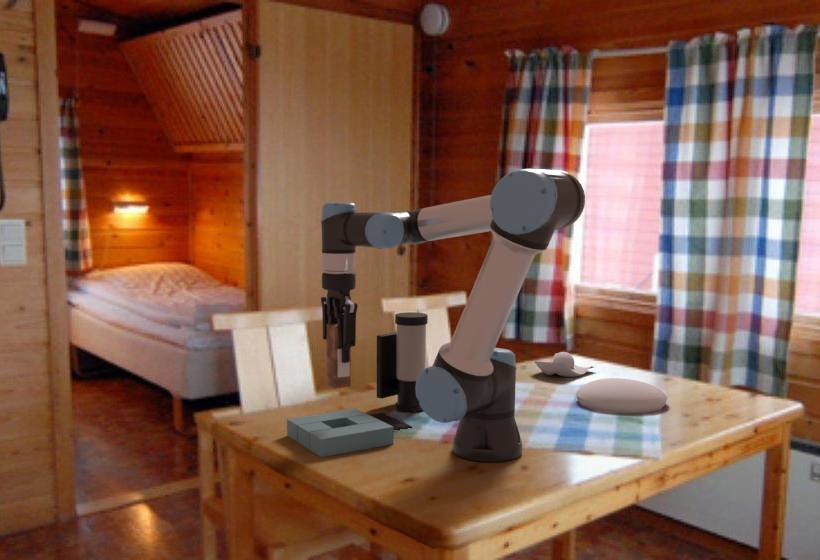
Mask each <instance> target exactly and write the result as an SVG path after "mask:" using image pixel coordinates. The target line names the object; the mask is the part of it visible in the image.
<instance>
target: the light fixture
mask: <svg viewBox="0 0 820 560" xmlns="http://www.w3.org/2000/svg"><path fill="white" fill-rule="evenodd" d="M428 321H429V318H428V313H423V312H412V311H411V312H400V313H399V312H398V313H395V314H394V324H396V332H389V333H384V334H378V335H376V398H377V399H380V400H381V399H384V398H385V399H386V398H390V397H393V396H397V402H395V404H394V408H395V410H396V411H397V412H400V413H401V412H402V413H407V412H409V413H410V414H411V413H412V412H415V413H420V412H421V411H422V412H424V411H423V410H422V408H421V406H420V404H419V400H418V399H417V397H416V389H415V387H416V381H417V378H418V376H419V374H420V373H421V372H422V371H423V370H425V369H426V368H427V367H426V366H427V364H426V363H427V361H426V359H427V358H426V357H427V356H426V355H427V354H426V353H427V348H426V347H427V342H426V341H427V325H428Z"/></svg>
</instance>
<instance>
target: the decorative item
mask: <svg viewBox="0 0 820 560" xmlns="http://www.w3.org/2000/svg"><path fill="white" fill-rule="evenodd" d="M575 395H576V399H577V402H578V403H579V404H580V406H582V407H584V406H585V407H584V408H587V409H590V410H595V411H600V412H605V411H606V413H615V414H617V413H618V414H645V413H652V412H653V413H654V412H657V411H660V410H662V409H663V408H664V407H665V405H666V403H667V401H668V397H667V395H666V394H665V392H663V390H662V389H660V388H659V387H657V386H655V385H653V384H650V383H647V382H644V381H640V380H636V379H630V378H622V377H620V378H619V377H606V378H599V379H595V380H591V381H589V382H586V383H585V384H583V385H582V386H580V387H579V389H577V390H576V393H575Z"/></svg>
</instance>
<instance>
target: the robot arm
mask: <svg viewBox="0 0 820 560" xmlns="http://www.w3.org/2000/svg"><path fill="white" fill-rule="evenodd" d="M585 204H586V194H585V190H584V188H583V186H582V183H581V182H580V181H579V180H578V179H577V177H575V176H574V175H573V174H571V173H570V172H567V171H565V170H560V169H552V170H551V169H538V168H532V167H529V168H527V167H526V168H521V169H517V170H514V171H511V172H509V173H507V174H505V175H504V176H503V177H501V178H500V180H498V182H497V183H496V185H495V186H494V187H493V190H492V192H491V194H489V195H484V196H479V197H475V198H469V199H463V200H458V201H454V202H453V201H452V202H448V203H443V204H438V205H434V206H428V207H423V208H419V209H417V208H416V209H413V210H406V211H383V212H379V211H378V212H362V211H361V212H359V211H357V206H356V204H355V203H354V202H347V201H346V202H341V201H339V202H338V201H335V202H333V201H332V202H329V201H328V202H325V203H323V205H322V209H321V210H322V211H321V219H320V223H321V270H322V271H323V272H322V273H321V288H322V289H323V290H325V291H327V292H326V293H327V294H326V296H321V297H320V303H321V308H322V309H321V311H322V319H321V320H322V339H323V341H324V340H325V342H326V343H327V324H334V323H337V325H338V335H339V346H337V377H346V376H350V348H351V349H352V348H353V347H355V346H356V337H357V335H356V334H357V332H356V331H357V325H356V324H357V310H358V303H357V302H352V297H351V291H352V290H355V289H356V286H357V285H356V284H357V283H356V279H357V277H356V276H357V274H356V273H355V272H353V271H355V270H356V260H357V256H356V249H357V248H356V247H362V248H363V247H365V248H374V249H375V248H376V249H380V250H383V249H393V248H396V247H397V246H405V245H421V244H423V243H426V242H427V243H428V242H430V241H438V240H445V239H449V238H450V239H451V238H455V237H462V236H469V235H474V234H482V233H487V232H491V233H492V237H493V239H492V240H491V243H490V245H489V248H488V250H487V253H486V255H485V257H484V260H483V263H482V265H481V268H480V270H479V272H478V275H477V277H476V279H475V282H474V284H473V287H472V289H471V292H470V294H469V297H468V299H467V301H466V304H465V306H464V309H463V310H462V313H461V315H460V318H459V320H458V323H457V325H456V328H455V330H454V331H453V332H454V333H453V335H452V337H451V340H450V341H449V342H447V343H444V344H442V345H441V346H440V347H439V349H438V352H437V354H436V356H435V359H434V362H433V364H432V366H428V367H426V369H425V370H423V371H422V372H421V373H420V374H419V376H418V378H417V381H416V387H415V389H416V397H417V399H418V400H419V404H420V406H421V408H422V410H423V411H422V412H424V413H425V414H426V415H427V417H429V418H431V420H433V421H435V422H438V423H444V424H447V423H451V422H458V425H457V428H456V432H455V435H454V436H453V440H452V452H453V453H454V454H455V455H456V456H458V457H460V458H463V459H466V460H470V461H473V462H474V461H475V462H485V463H494V462H495V463H496V462H497V463H498V462H506V461H511V460H514V459H517V458H519V457H521V456H522V454H523V441H522V438H521V435H520V432H519V431H520V430H519V429H518V425H517V422H516V418H515V417H516V416H515V415H516V378H517V377H516V375H517V365H516V354H515V353H514V352H513V351H512V350H510V349H505V348H499V347H496V346H497V343H498V341H499V339H500V336H501V334H502V332H503V330H504V328H505V325H506V323H507V321H508V318H509V316H510V314H511V313H512V312H511V311H512V310H513V309H512V308H513V307H514V305H515V302H516V300H517V298H518V296H519V293H520V291H521V288H522V286H523V284H524V282H525V279H526V277H527V275H528V272H529V270H530V268H531V266H532V263H533V260H534V259H535V257H536V255H537V254H540V253H543V252H545V251H547V249H548V246H549V244H550V242H551V240H552V238H553V235H554V233H555V231H556V230H557V231H558V230H562V229H566V228H567V227H569V226H572V225H574V223H576V221H578V219H579V218H580V217H581V215H582V213H583V212H584V208H585V206H586V205H585Z"/></svg>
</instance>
